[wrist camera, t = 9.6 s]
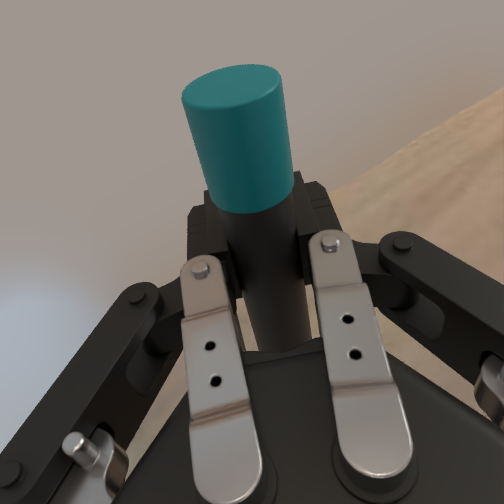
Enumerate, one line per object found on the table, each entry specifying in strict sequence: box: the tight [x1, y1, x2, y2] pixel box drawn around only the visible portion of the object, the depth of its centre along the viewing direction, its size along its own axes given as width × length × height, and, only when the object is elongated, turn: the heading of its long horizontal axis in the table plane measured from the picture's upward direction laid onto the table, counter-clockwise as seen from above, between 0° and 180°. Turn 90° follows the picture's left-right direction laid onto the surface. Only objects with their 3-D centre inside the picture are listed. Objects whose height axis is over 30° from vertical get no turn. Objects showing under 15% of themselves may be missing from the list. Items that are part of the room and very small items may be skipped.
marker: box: [181, 64, 312, 352], centre depth 15 cm, size 2×2×16 cm
